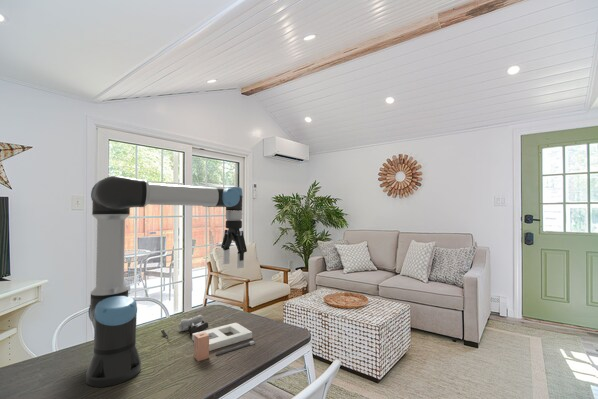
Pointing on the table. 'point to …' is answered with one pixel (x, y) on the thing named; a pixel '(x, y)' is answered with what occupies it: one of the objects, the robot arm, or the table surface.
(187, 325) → the clip-on lamp
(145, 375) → the table surface
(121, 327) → the robot arm
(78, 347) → the table surface
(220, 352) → the cable
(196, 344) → the block
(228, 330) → the outlet plate
